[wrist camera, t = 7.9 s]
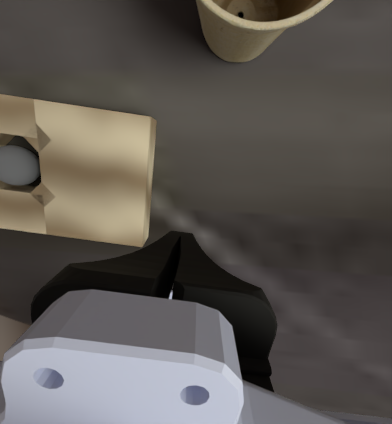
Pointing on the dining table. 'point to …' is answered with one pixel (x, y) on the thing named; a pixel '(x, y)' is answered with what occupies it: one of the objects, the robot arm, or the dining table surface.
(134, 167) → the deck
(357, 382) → the dining table surface
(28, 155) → the ball
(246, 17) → the flower pot
